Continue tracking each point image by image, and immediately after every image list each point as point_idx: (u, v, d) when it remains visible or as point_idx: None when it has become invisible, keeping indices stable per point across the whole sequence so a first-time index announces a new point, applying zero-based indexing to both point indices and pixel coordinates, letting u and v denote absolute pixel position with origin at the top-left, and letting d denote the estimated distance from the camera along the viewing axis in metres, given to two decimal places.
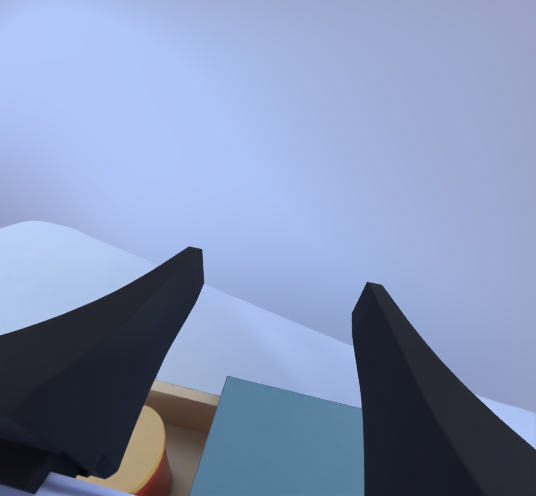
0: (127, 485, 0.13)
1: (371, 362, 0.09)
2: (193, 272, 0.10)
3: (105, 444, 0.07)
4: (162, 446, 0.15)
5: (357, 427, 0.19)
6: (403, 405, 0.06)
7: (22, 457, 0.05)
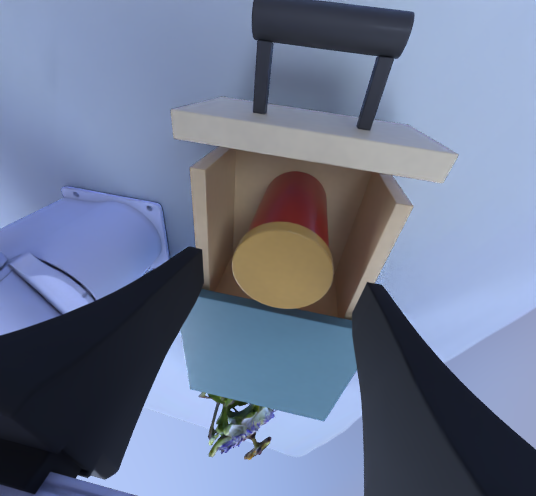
0: (247, 289, 0.12)
1: (371, 362, 0.09)
2: (193, 272, 0.10)
3: (105, 444, 0.07)
4: (284, 307, 0.13)
5: (315, 404, 0.21)
6: (403, 405, 0.06)
7: (22, 457, 0.05)
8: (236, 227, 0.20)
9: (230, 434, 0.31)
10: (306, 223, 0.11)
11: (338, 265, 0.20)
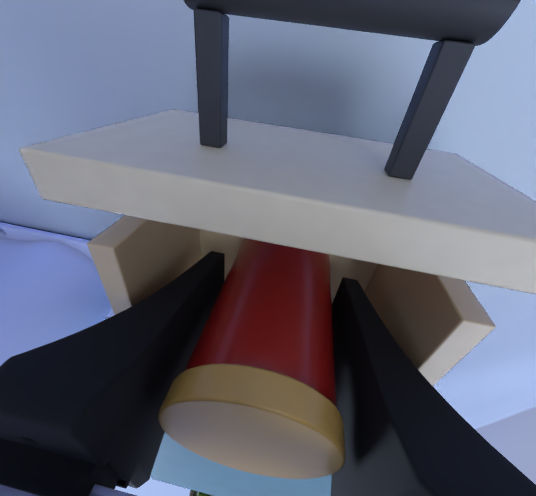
0: (193, 449, 0.07)
1: (342, 356, 0.09)
2: (216, 277, 0.10)
3: (140, 453, 0.07)
4: None
5: None
6: (364, 396, 0.06)
7: (68, 470, 0.05)
8: None
9: None
10: (294, 356, 0.06)
11: None
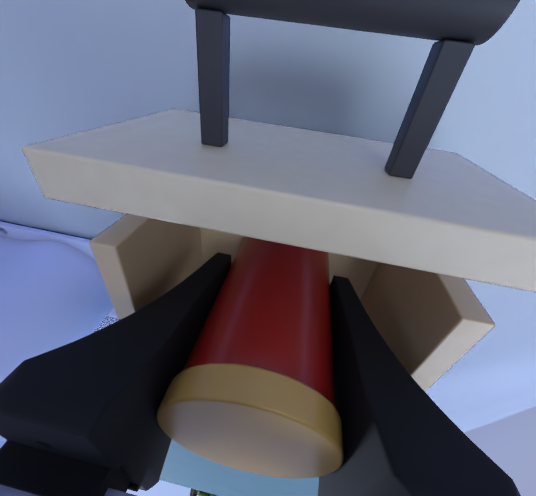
0: (192, 448, 0.07)
1: None
2: (224, 278, 0.10)
3: (151, 456, 0.07)
4: None
5: None
6: (349, 392, 0.06)
7: (83, 474, 0.05)
8: None
9: None
10: (292, 356, 0.06)
11: None
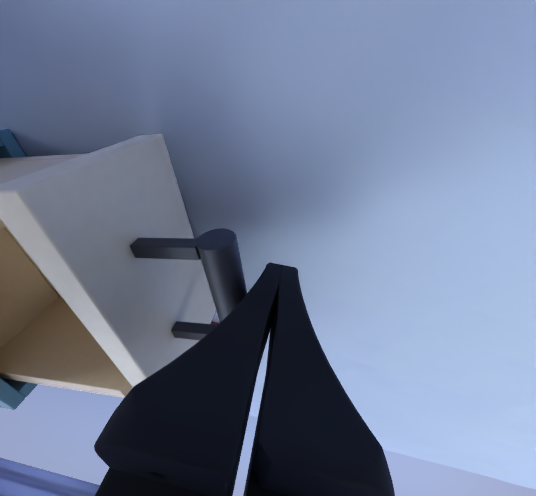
0: None
1: (271, 340, 0.09)
2: None
3: (235, 478, 0.06)
4: None
5: None
6: (267, 374, 0.07)
7: None
8: None
9: None
10: None
11: None
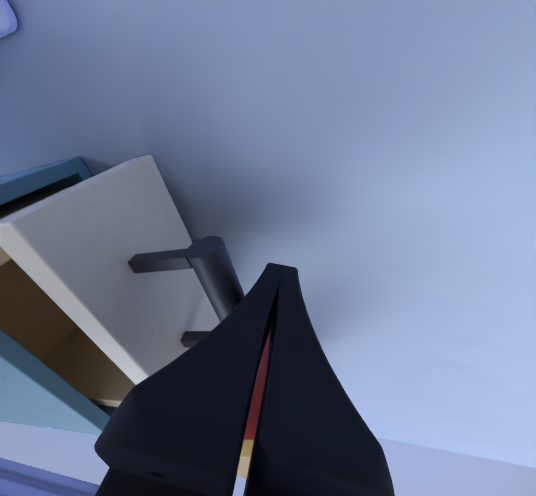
0: None
1: (271, 340, 0.09)
2: None
3: (234, 478, 0.06)
4: None
5: None
6: (267, 374, 0.07)
7: None
8: None
9: None
10: None
11: None
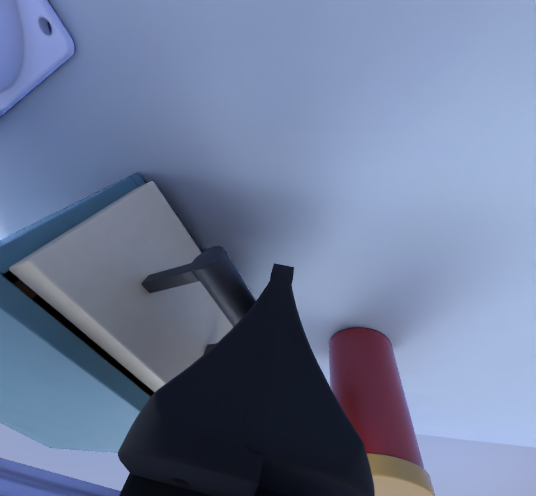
0: None
1: None
2: None
3: None
4: None
5: (57, 440, 0.16)
6: None
7: None
8: None
9: None
10: (410, 449, 0.12)
11: None
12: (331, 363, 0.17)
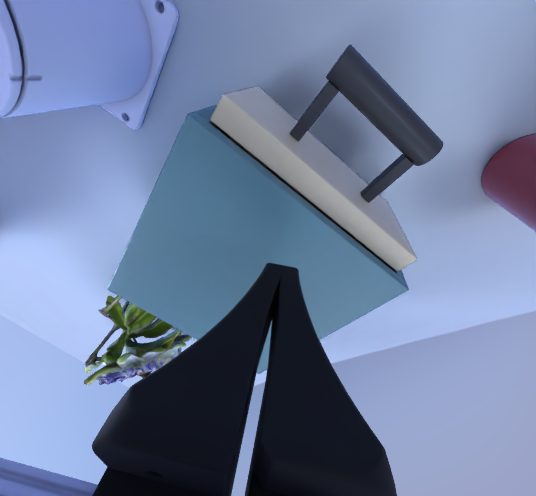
0: None
1: (272, 340, 0.09)
2: (277, 289, 0.10)
3: (233, 478, 0.06)
4: None
5: (264, 352, 0.18)
6: None
7: None
8: None
9: (122, 365, 0.25)
10: None
11: None
12: (497, 189, 0.15)
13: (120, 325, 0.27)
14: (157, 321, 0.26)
